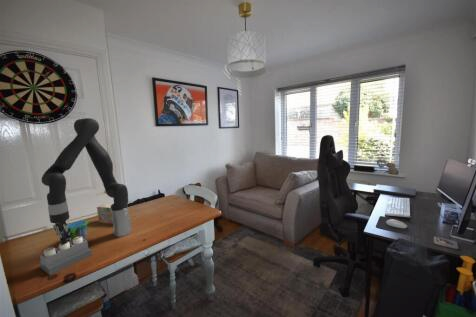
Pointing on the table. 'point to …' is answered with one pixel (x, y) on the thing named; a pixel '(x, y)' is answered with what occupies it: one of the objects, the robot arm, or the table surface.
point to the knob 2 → (77, 240)
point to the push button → (69, 237)
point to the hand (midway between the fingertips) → (64, 243)
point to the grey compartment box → (64, 257)
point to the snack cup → (78, 229)
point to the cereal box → (105, 213)
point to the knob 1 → (49, 252)
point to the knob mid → (64, 246)
